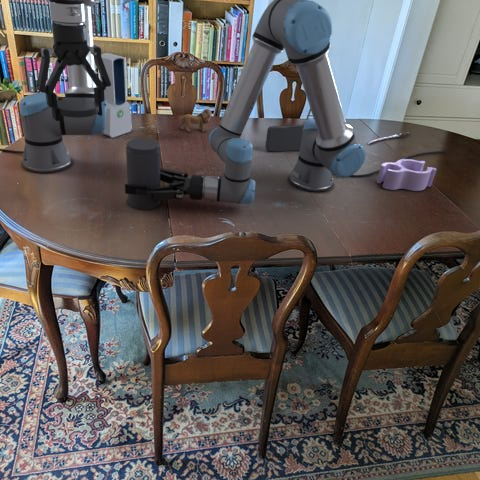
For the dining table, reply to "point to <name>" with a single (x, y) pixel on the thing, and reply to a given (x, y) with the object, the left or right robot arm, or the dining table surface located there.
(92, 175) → the dining table surface
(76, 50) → the left robot arm
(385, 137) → the sword
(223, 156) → the right robot arm
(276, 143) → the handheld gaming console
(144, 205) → the jar
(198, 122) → the lion figurine
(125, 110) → the electronic device
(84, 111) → the lid
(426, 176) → the clip
